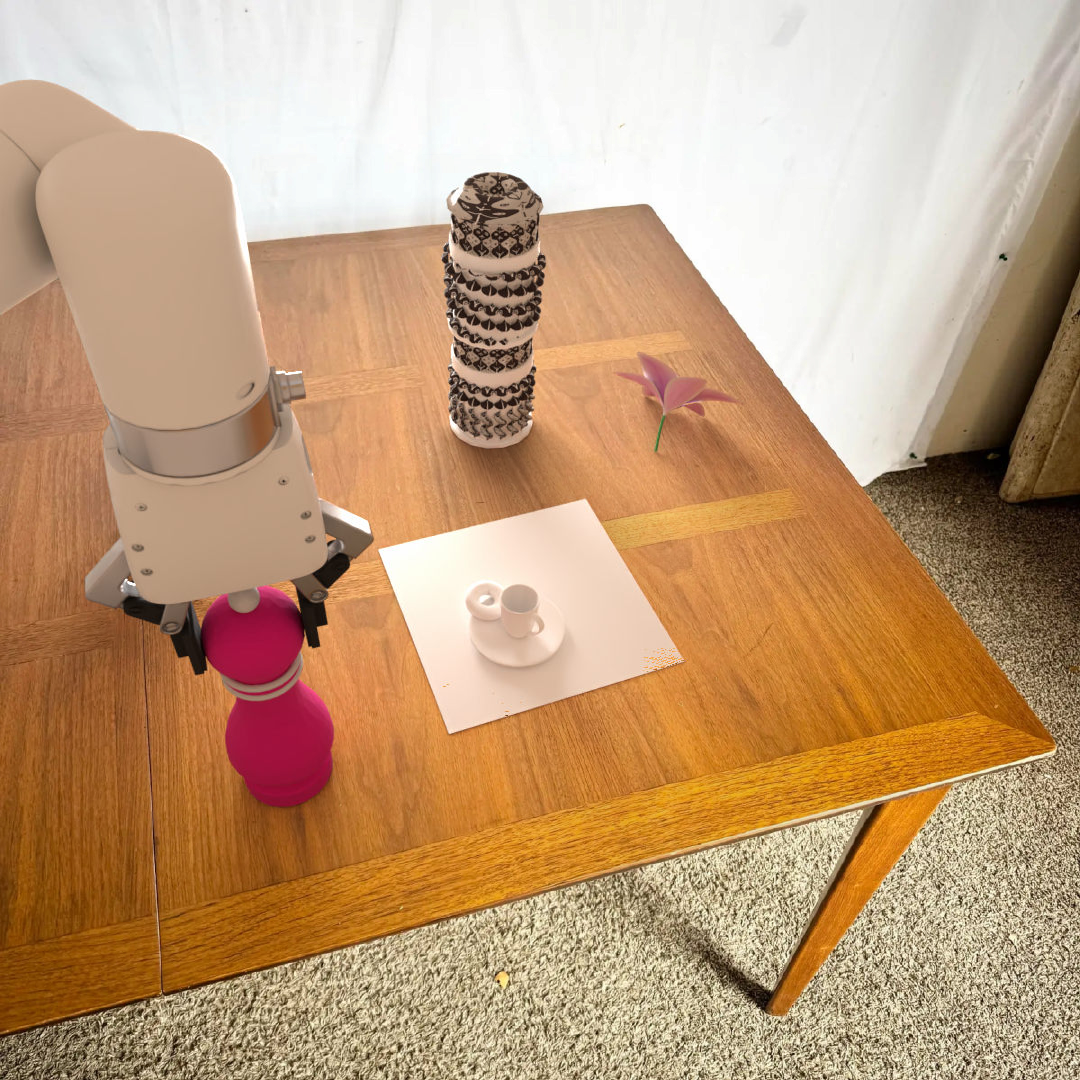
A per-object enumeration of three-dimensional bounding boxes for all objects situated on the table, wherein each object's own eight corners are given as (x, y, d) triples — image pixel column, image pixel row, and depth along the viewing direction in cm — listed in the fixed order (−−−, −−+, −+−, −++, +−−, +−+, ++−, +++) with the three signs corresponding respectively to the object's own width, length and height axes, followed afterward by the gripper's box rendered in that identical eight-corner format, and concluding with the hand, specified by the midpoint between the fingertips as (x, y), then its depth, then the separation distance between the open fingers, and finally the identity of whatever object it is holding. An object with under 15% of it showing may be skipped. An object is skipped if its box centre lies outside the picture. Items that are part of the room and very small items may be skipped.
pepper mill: (338, 720, 72) (305, 536, 58) (341, 807, 67) (306, 630, 53) (239, 731, 71) (180, 547, 57) (235, 821, 66) (169, 644, 52)
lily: (743, 461, 97) (763, 366, 94) (670, 467, 89) (689, 363, 86) (652, 434, 105) (668, 345, 102) (578, 437, 97) (593, 341, 94)
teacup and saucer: (452, 600, 81) (451, 568, 78) (540, 577, 83) (542, 545, 80) (487, 682, 75) (488, 650, 72) (580, 654, 78) (584, 623, 75)
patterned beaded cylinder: (459, 458, 93) (456, 219, 75) (435, 401, 99) (427, 166, 81) (548, 442, 96) (566, 206, 78) (519, 387, 102) (530, 156, 84)
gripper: (359, 339, 50) (381, 569, 63) (-2, 393, 46) (103, 628, 59) (392, 428, 45) (409, 657, 58) (-7, 498, 41) (108, 729, 54)
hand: (255, 641), depth 58 cm, fingers closed on pepper mill, 6 cm apart
